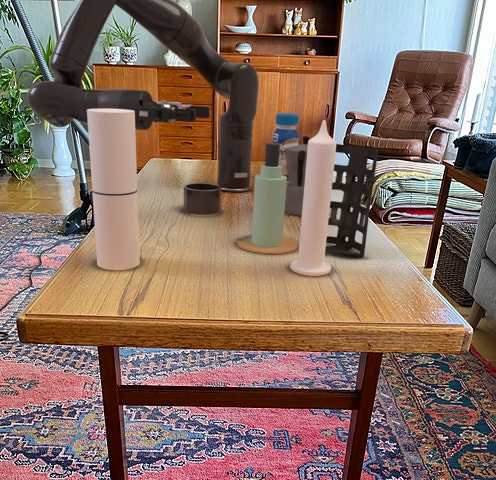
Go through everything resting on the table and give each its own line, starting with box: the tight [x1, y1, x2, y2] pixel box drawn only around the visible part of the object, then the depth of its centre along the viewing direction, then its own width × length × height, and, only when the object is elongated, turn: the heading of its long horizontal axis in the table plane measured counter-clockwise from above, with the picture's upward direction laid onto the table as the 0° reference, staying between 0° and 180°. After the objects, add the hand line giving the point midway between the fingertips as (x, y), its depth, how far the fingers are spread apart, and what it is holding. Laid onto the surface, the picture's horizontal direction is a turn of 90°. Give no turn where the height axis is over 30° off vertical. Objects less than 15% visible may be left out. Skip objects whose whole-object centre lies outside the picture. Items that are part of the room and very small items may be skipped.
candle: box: [289, 119, 337, 277], centre depth 88 cm, size 7×7×25 cm
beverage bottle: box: [271, 112, 300, 185], centre depth 162 cm, size 8×8×20 cm
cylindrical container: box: [87, 109, 141, 271], centre depth 87 cm, size 7×7×25 cm
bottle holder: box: [182, 182, 222, 216], centre depth 125 cm, size 9×9×6 cm
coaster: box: [236, 235, 299, 255], centre depth 105 cm, size 12×12×1 cm
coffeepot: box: [284, 135, 311, 217], centre depth 126 cm, size 15×9×18 cm, turn 168°
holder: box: [325, 143, 379, 259], centre depth 100 cm, size 11×8×20 cm
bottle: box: [251, 142, 287, 247], centre depth 101 cm, size 6×6×19 cm
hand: (202, 114), depth 103 cm, fingers open, 8 cm apart
